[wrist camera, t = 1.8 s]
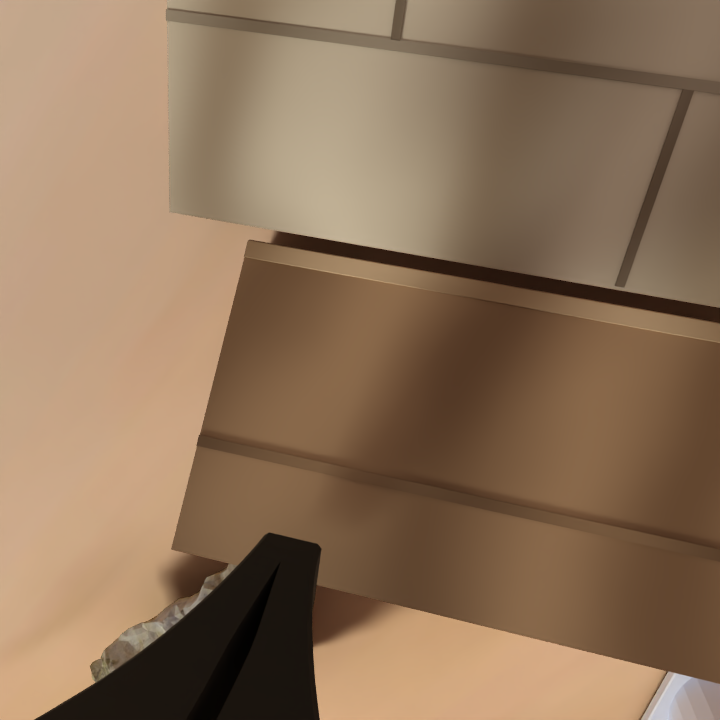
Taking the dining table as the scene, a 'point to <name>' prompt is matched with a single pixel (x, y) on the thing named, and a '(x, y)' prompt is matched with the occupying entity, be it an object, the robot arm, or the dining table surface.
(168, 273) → the dining table surface
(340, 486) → the plank
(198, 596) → the rock
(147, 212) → the dining table surface
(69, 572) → the dining table surface
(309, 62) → the beige grooved panel
